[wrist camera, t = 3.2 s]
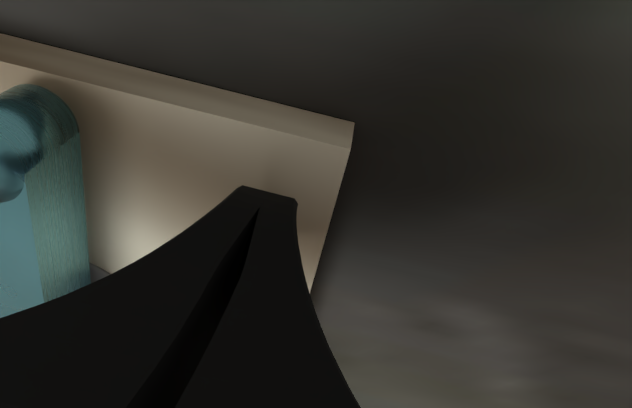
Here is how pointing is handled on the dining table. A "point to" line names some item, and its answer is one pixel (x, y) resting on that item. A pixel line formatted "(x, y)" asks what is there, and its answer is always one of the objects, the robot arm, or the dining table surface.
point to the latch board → (180, 151)
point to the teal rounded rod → (40, 200)
